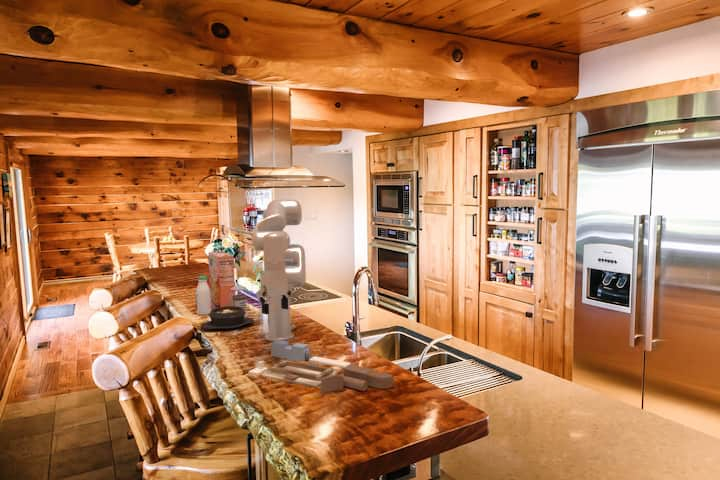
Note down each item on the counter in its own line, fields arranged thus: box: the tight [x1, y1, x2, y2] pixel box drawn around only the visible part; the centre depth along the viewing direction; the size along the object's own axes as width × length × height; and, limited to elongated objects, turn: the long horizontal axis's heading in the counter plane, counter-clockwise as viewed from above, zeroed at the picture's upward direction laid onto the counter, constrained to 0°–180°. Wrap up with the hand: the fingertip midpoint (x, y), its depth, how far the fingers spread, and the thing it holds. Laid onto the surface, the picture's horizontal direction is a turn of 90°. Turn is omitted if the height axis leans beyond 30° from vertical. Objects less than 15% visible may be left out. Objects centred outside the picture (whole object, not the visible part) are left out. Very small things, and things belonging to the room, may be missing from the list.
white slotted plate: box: [247, 360, 269, 376], centre depth 172 cm, size 6×4×4 cm, turn 153°
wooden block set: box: [320, 364, 394, 394], centre depth 156 cm, size 17×6×18 cm
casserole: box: [200, 306, 255, 331], centre depth 231 cm, size 25×19×8 cm
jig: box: [261, 359, 342, 388], centre depth 170 cm, size 16×22×2 cm
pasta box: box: [208, 251, 236, 309], centre depth 269 cm, size 23×8×30 cm, turn 30°
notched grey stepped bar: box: [270, 340, 312, 362], centre depth 187 cm, size 16×4×6 cm, turn 64°
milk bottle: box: [195, 275, 212, 316], centre depth 256 cm, size 8×8×20 cm
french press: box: [229, 266, 250, 317], centre depth 253 cm, size 10×12×25 cm
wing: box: [308, 355, 352, 369], centre depth 181 cm, size 4×16×1 cm, turn 61°
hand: (275, 311), depth 183 cm, fingers open, 9 cm apart
